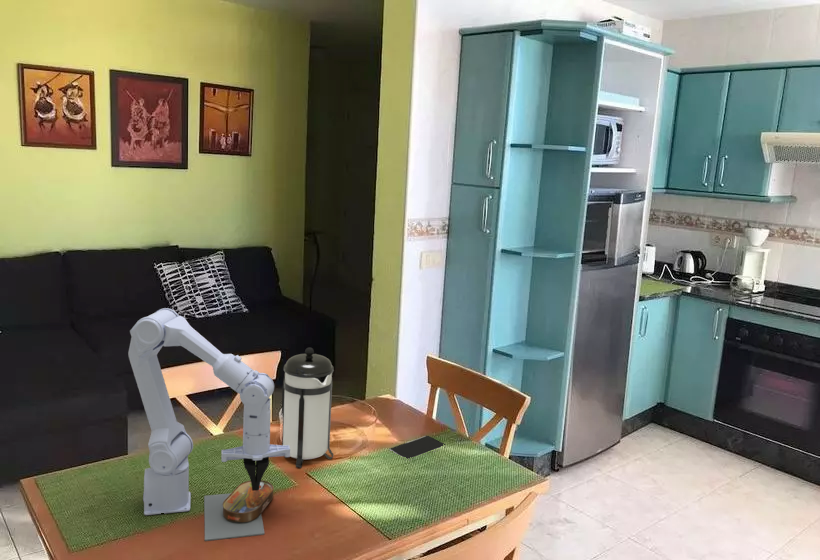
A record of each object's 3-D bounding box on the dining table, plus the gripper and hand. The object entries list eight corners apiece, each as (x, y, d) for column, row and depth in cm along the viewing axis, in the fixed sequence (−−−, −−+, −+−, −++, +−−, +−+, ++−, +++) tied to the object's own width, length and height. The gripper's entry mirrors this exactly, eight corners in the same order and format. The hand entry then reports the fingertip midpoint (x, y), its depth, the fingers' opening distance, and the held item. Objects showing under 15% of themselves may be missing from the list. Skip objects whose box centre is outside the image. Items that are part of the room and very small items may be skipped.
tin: (252, 515, 139) (215, 506, 141) (250, 529, 140) (214, 519, 141) (279, 482, 154) (246, 475, 155) (278, 495, 154) (245, 487, 156)
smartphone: (388, 448, 181) (427, 435, 191) (388, 452, 181) (426, 438, 191) (407, 459, 175) (446, 444, 185) (407, 463, 175) (446, 448, 186)
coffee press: (341, 446, 182) (346, 342, 176) (323, 472, 166) (328, 359, 161) (281, 438, 184) (285, 335, 179) (259, 462, 169) (262, 351, 164)
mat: (204, 541, 134) (204, 539, 134) (204, 496, 151) (204, 495, 151) (264, 534, 138) (264, 533, 138) (257, 492, 155) (257, 490, 154)
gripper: (222, 440, 136) (221, 500, 139) (292, 435, 141) (290, 494, 143) (221, 426, 143) (220, 484, 145) (288, 422, 147) (286, 478, 150)
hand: (255, 488), depth 145 cm, fingers closed
